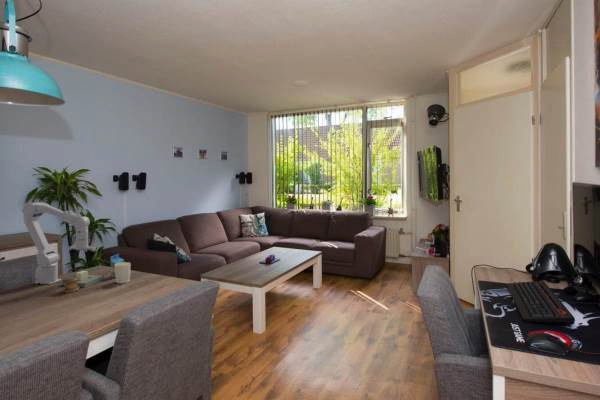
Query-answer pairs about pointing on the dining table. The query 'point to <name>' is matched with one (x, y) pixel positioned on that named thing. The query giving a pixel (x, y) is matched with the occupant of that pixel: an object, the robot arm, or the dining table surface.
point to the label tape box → (115, 261)
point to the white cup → (122, 272)
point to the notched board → (88, 281)
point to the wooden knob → (70, 284)
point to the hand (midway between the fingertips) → (82, 263)
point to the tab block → (82, 275)
